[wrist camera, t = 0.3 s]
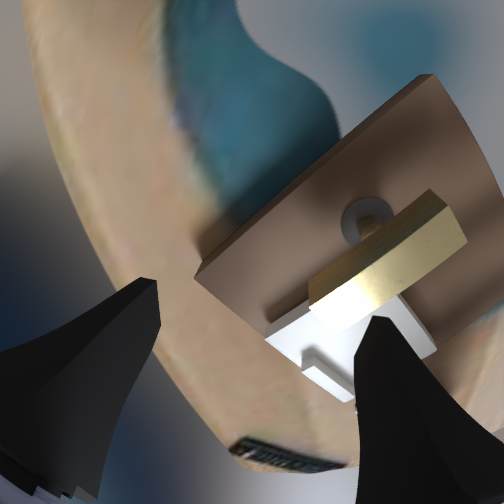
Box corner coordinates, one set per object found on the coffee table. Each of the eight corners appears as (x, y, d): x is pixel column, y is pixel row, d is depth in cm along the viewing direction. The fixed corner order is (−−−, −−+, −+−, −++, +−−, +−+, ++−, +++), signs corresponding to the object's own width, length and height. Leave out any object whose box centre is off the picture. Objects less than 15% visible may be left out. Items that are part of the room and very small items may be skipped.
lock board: (516, 262, 17) (529, 277, 15) (342, 378, 25) (343, 397, 23) (419, 74, 13) (435, 73, 11) (202, 261, 21) (192, 279, 19)
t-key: (449, 235, 15) (485, 281, 11) (355, 303, 18) (366, 360, 14) (410, 172, 14) (448, 205, 10) (307, 253, 17) (308, 307, 13)
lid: (432, 338, 19) (441, 360, 17) (344, 387, 22) (345, 409, 20) (369, 255, 16) (378, 278, 14) (266, 326, 20) (262, 351, 18)
